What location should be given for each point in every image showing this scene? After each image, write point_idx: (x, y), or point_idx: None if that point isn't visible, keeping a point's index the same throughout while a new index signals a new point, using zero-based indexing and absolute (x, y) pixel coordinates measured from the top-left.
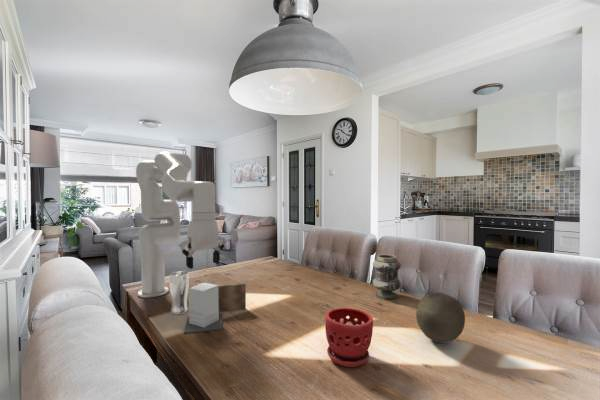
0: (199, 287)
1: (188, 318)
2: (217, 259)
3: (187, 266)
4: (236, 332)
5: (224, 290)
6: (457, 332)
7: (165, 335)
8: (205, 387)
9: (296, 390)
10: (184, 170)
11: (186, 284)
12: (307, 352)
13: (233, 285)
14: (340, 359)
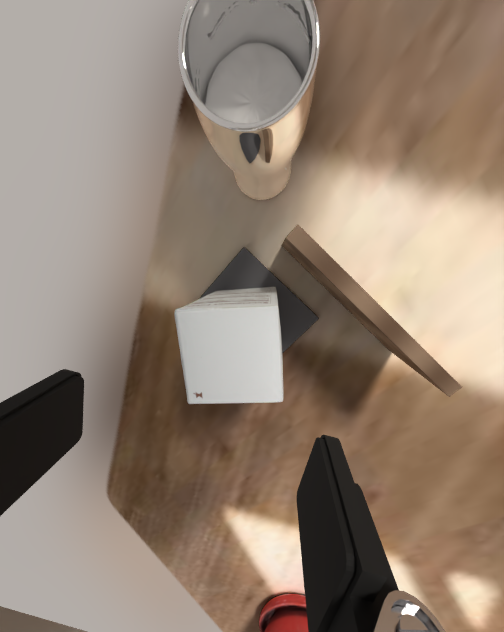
0: (206, 353)
1: (236, 258)
2: (304, 541)
3: (61, 376)
4: (258, 419)
5: (370, 322)
6: None
7: (148, 287)
8: (108, 483)
9: (183, 577)
10: None
11: (265, 164)
12: (272, 560)
13: (408, 357)
14: (271, 616)
